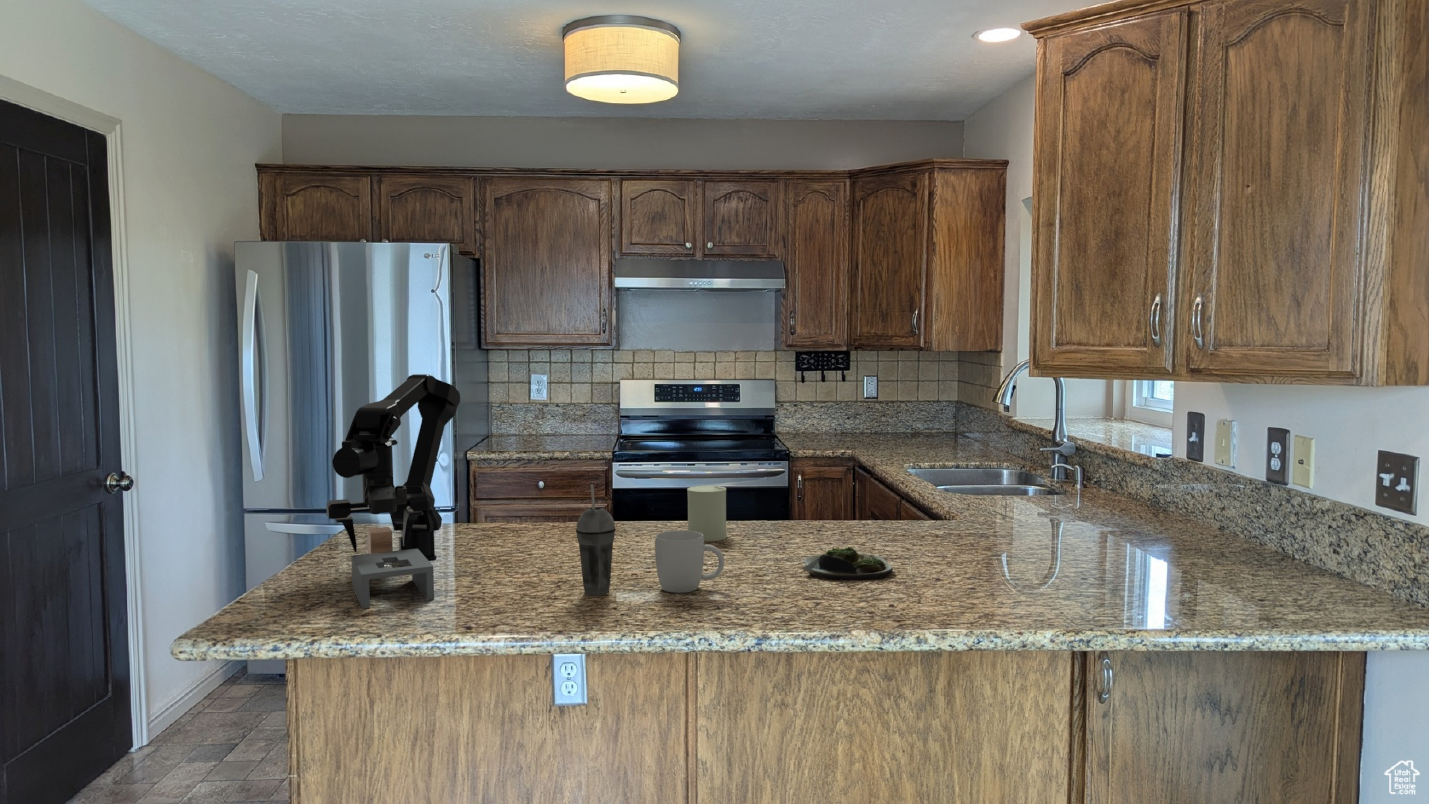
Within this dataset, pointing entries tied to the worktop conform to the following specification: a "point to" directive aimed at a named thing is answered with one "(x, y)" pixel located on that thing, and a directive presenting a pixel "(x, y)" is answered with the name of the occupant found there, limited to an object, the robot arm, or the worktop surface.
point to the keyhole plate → (391, 571)
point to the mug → (683, 560)
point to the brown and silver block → (380, 542)
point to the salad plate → (847, 565)
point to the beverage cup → (596, 548)
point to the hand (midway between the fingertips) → (380, 548)
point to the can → (707, 512)
